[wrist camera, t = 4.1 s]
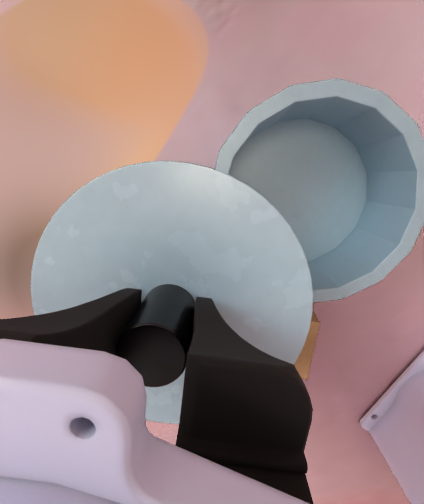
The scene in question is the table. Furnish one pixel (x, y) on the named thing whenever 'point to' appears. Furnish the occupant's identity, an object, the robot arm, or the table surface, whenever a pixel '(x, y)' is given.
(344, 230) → the tin
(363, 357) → the table surface
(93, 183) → the lid
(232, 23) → the table surface
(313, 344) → the block
